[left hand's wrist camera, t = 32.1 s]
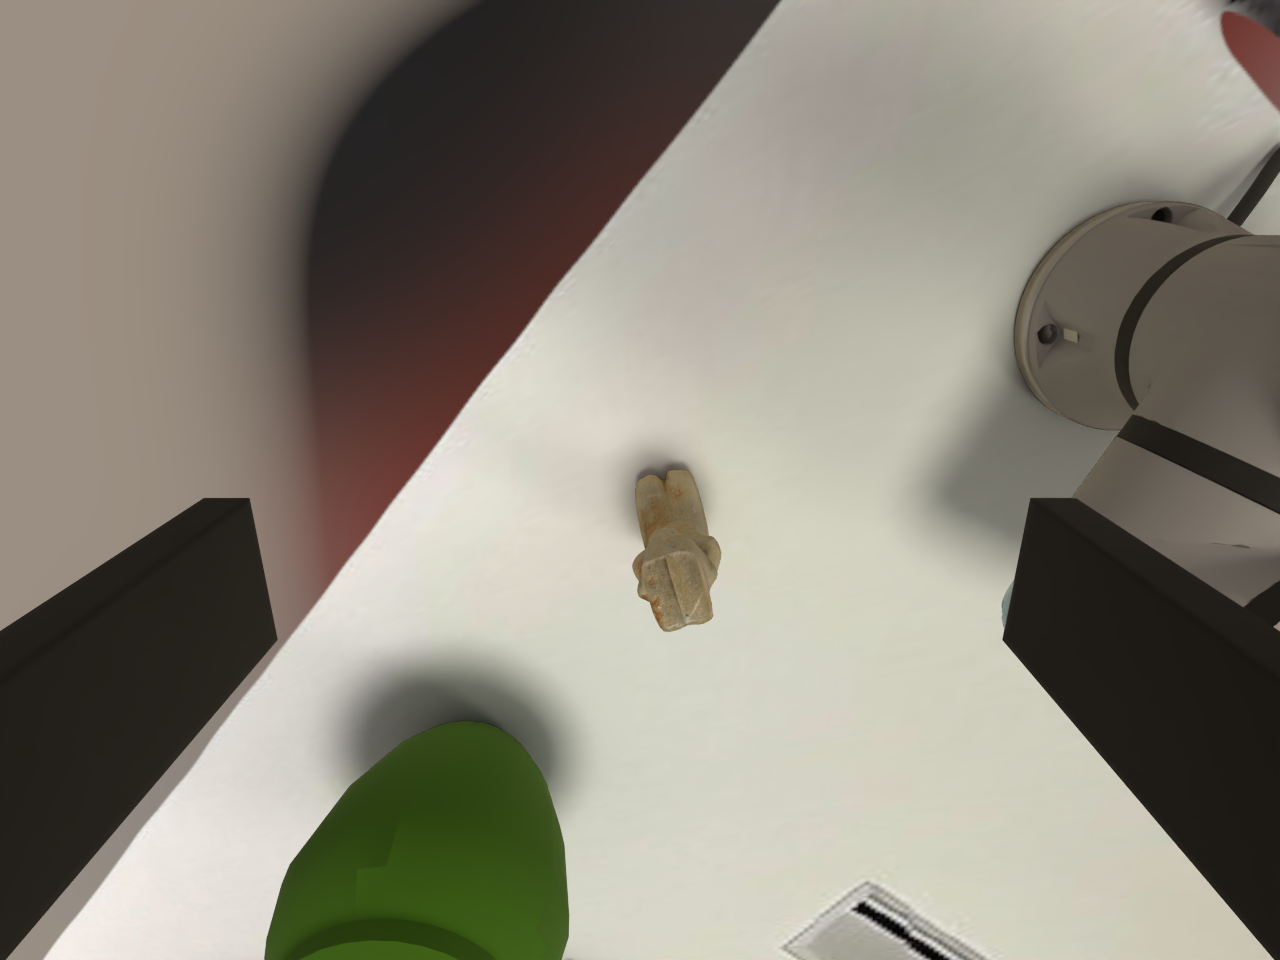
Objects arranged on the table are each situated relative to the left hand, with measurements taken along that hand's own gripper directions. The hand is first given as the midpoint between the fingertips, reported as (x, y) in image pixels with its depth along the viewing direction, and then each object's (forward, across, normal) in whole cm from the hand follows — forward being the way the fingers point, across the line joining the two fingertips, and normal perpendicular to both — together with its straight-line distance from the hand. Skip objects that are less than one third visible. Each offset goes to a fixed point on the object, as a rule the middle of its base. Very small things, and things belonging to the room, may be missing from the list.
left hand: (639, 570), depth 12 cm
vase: (+41, -14, -39) cm, 58 cm away
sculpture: (+41, +2, -16) cm, 44 cm away
